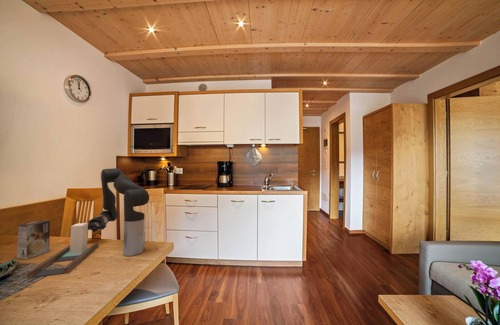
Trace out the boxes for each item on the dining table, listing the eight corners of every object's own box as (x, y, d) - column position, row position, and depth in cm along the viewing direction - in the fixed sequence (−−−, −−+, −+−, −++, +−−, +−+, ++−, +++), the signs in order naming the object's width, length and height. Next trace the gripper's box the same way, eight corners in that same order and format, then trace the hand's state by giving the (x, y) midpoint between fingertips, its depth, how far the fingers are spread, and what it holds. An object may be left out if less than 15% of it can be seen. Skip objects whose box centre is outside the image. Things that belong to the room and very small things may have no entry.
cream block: (86, 249, 102) (87, 222, 103) (81, 253, 98) (82, 225, 98) (75, 250, 101) (76, 223, 101) (69, 254, 96) (70, 226, 97)
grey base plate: (84, 255, 96) (84, 254, 96) (63, 273, 80) (63, 272, 80) (60, 258, 93) (60, 257, 93) (32, 277, 77) (32, 276, 77)
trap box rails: (98, 247, 106) (98, 242, 106) (68, 273, 80) (68, 267, 80) (68, 249, 102) (68, 245, 102) (27, 278, 76) (27, 271, 76)
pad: (94, 247, 105) (94, 246, 105) (85, 255, 96) (85, 254, 96) (72, 249, 102) (72, 248, 102) (61, 257, 93) (61, 256, 93)
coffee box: (40, 250, 101) (41, 219, 102) (49, 251, 100) (50, 220, 100) (16, 258, 92) (17, 224, 93) (25, 259, 91) (27, 225, 91)
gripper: (84, 217, 118) (68, 225, 102) (111, 215, 122) (99, 223, 106) (83, 229, 117) (67, 239, 102) (111, 227, 122) (99, 236, 106)
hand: (84, 230), depth 104 cm, fingers open, 8 cm apart
